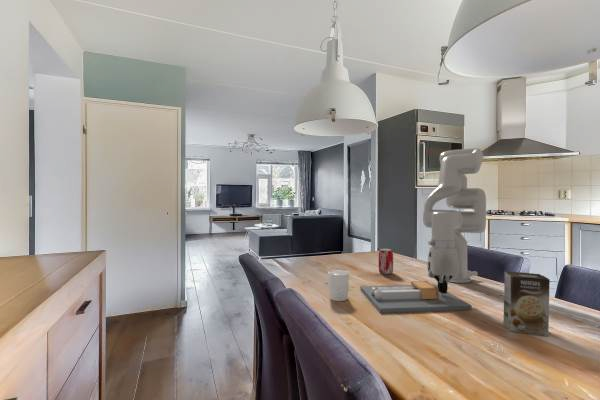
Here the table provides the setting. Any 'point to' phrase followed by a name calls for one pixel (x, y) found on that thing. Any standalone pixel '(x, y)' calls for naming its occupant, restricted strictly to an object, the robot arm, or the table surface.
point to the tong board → (412, 300)
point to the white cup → (338, 284)
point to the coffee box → (526, 303)
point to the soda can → (385, 261)
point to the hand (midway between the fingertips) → (442, 292)
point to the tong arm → (392, 288)
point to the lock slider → (426, 289)
